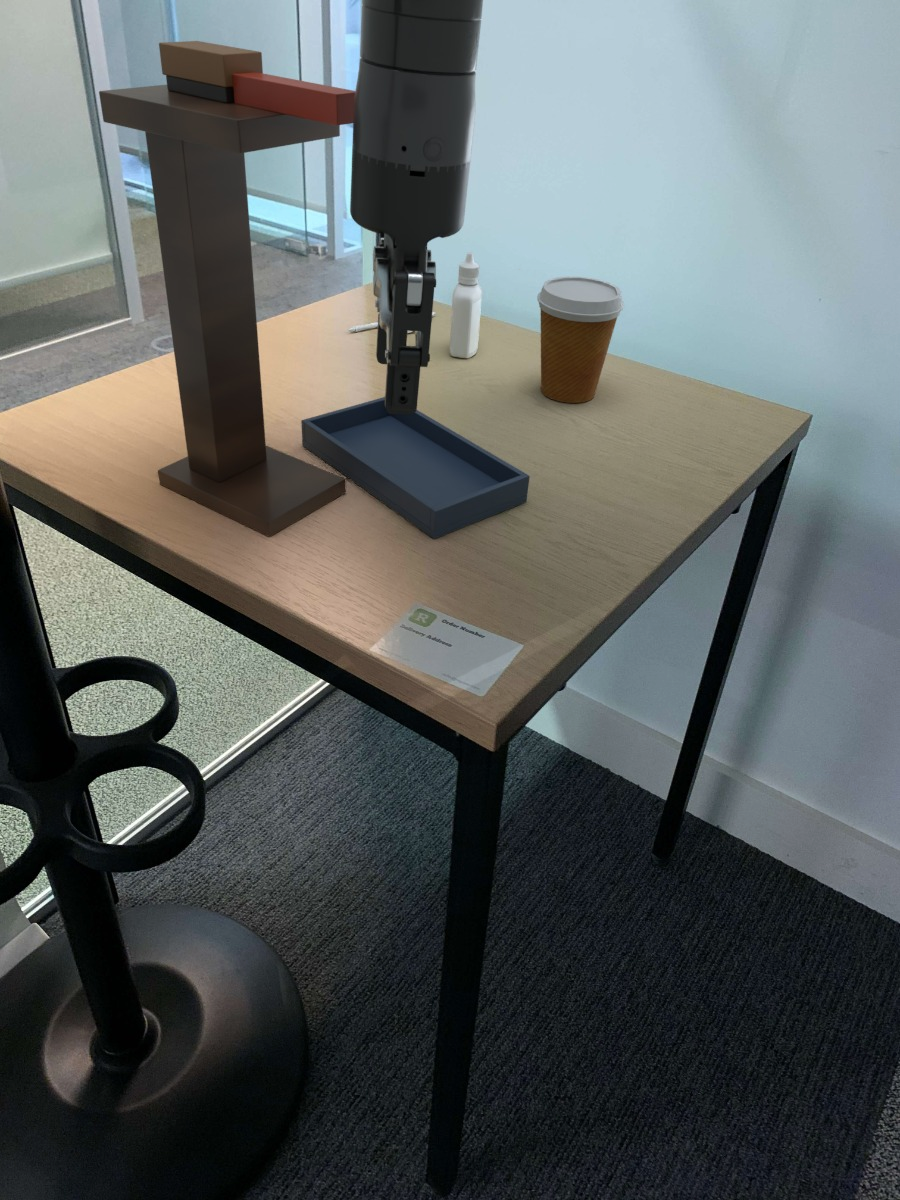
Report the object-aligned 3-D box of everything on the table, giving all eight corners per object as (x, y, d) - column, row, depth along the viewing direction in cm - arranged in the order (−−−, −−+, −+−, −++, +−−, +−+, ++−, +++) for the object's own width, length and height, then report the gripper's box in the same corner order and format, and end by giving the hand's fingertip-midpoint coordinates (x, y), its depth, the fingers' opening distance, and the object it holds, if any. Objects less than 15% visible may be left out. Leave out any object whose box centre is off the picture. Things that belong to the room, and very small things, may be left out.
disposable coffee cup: (588, 417, 100) (605, 310, 93) (512, 394, 104) (523, 290, 97) (621, 389, 107) (639, 287, 100) (549, 369, 111) (561, 269, 104)
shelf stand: (345, 492, 84) (339, 105, 65) (269, 537, 77) (238, 119, 58) (238, 446, 90) (204, 80, 71) (159, 484, 84) (98, 91, 64)
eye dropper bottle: (490, 350, 115) (499, 253, 108) (462, 361, 111) (468, 262, 104) (464, 340, 117) (471, 244, 110) (435, 351, 113) (440, 253, 106)
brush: (366, 121, 61) (366, 70, 59) (330, 126, 58) (328, 73, 56) (201, 86, 69) (197, 40, 67) (163, 90, 66) (158, 42, 65)
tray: (526, 502, 85) (530, 475, 83) (433, 539, 79) (435, 511, 77) (391, 419, 97) (391, 394, 96) (302, 445, 91) (300, 420, 90)
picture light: (433, 315, 124) (434, 299, 123) (452, 324, 121) (453, 309, 120) (346, 332, 117) (346, 316, 116) (364, 343, 114) (364, 327, 113)
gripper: (347, 119, 62) (340, 346, 72) (358, 168, 51) (348, 429, 61) (455, 129, 63) (433, 351, 73) (489, 179, 52) (458, 433, 62)
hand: (395, 386), depth 67 cm, fingers open, 8 cm apart
